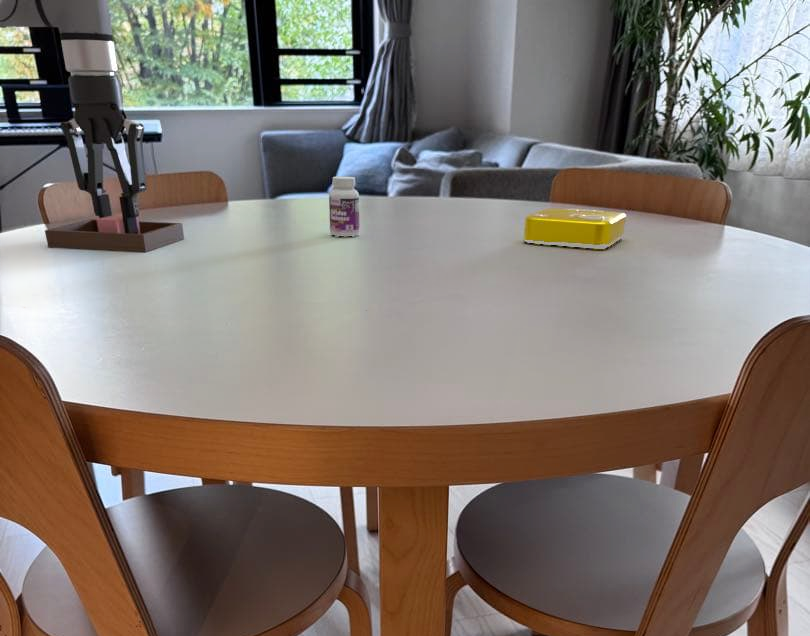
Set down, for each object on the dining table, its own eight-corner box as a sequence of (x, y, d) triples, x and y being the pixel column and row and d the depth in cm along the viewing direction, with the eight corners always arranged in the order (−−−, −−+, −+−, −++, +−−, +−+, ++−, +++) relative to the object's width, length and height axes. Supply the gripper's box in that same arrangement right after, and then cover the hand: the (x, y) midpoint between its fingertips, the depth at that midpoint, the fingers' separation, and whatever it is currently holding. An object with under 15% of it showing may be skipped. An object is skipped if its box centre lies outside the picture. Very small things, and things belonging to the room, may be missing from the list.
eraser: (119, 243, 124) (116, 220, 122) (100, 241, 125) (96, 219, 123) (141, 236, 130) (138, 214, 128) (122, 235, 131) (118, 213, 129)
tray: (48, 247, 124) (44, 230, 123) (93, 234, 136) (91, 219, 134) (145, 252, 121) (143, 235, 120) (184, 238, 132) (182, 223, 131)
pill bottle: (328, 237, 135) (325, 178, 130) (332, 232, 140) (330, 175, 135) (357, 238, 135) (356, 178, 130) (361, 233, 139) (360, 176, 135)
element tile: (624, 238, 137) (629, 210, 135) (605, 251, 126) (610, 220, 123) (545, 232, 143) (548, 204, 141) (520, 243, 131) (522, 214, 129)
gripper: (155, 76, 117) (176, 236, 129) (59, 74, 120) (88, 232, 132) (130, 74, 111) (155, 243, 123) (29, 73, 114) (63, 238, 125)
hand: (120, 237), depth 127 cm, fingers closed on eraser, 4 cm apart
